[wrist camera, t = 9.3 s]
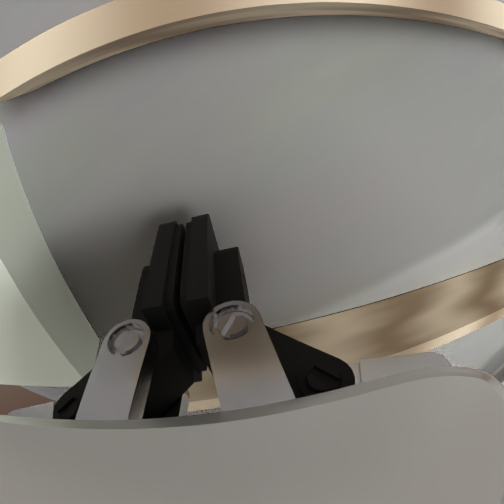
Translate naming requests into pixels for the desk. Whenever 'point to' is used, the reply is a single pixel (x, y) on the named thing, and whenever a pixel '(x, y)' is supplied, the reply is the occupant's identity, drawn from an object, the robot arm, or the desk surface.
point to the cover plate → (35, 298)
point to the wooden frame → (267, 7)
